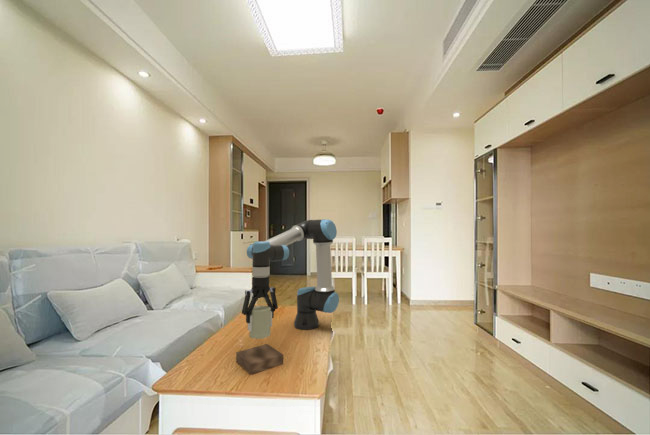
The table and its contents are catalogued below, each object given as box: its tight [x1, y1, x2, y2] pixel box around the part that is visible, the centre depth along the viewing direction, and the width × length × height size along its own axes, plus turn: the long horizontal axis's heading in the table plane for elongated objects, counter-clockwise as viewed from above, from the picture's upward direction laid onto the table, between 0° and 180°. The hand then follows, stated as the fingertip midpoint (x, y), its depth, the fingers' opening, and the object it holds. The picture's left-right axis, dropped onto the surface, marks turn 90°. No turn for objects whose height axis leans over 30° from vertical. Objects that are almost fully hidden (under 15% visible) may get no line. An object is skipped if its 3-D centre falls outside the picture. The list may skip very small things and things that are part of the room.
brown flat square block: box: [235, 343, 284, 376], centre depth 122 cm, size 15×15×4 cm
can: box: [248, 305, 271, 340], centre depth 123 cm, size 9×9×12 cm
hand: (260, 328), depth 123 cm, fingers closed on can, 9 cm apart
